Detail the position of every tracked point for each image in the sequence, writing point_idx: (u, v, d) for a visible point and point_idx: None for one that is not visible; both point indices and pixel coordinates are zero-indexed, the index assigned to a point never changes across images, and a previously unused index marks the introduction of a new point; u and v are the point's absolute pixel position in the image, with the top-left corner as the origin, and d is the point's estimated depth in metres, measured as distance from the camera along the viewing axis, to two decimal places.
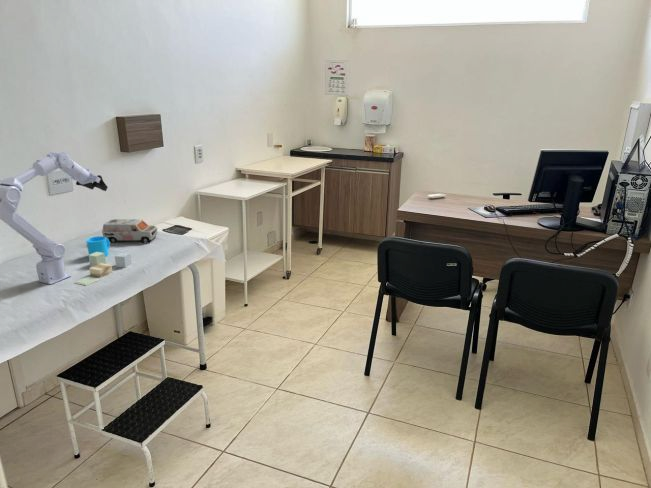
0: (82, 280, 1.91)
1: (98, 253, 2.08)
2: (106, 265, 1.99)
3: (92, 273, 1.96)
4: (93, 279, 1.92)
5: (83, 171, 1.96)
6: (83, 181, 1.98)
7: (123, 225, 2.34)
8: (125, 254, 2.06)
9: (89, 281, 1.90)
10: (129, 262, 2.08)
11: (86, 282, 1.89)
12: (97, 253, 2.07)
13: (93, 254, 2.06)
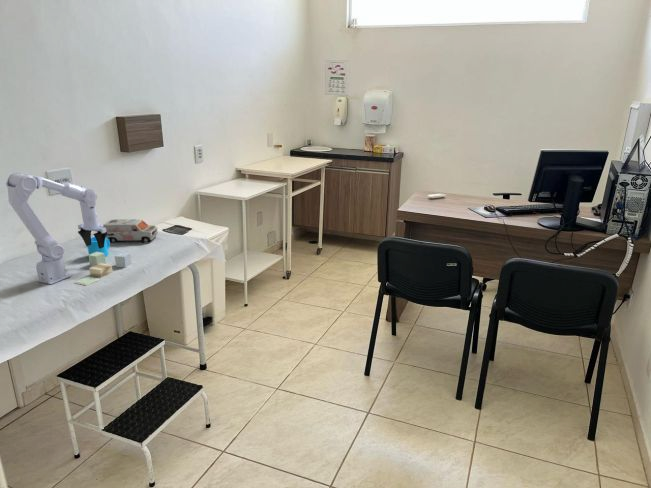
0: (82, 280, 1.91)
1: (98, 253, 2.08)
2: (106, 265, 1.99)
3: (92, 273, 1.96)
4: (93, 279, 1.92)
5: (96, 218, 2.01)
6: (89, 226, 2.00)
7: (123, 225, 2.34)
8: (125, 254, 2.06)
9: (89, 281, 1.90)
10: (129, 262, 2.08)
11: (86, 282, 1.89)
12: (97, 253, 2.07)
13: (93, 254, 2.06)
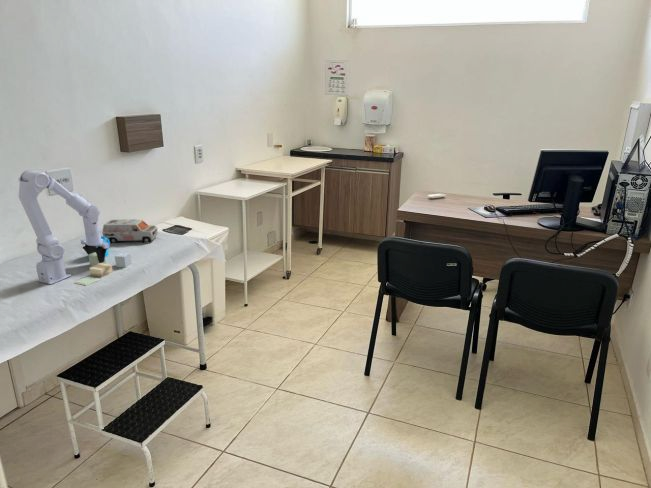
0: (82, 280, 1.91)
1: None
2: (106, 265, 1.99)
3: (92, 273, 1.96)
4: (93, 279, 1.92)
5: (99, 234, 2.04)
6: (92, 242, 2.02)
7: (124, 225, 2.33)
8: (125, 254, 2.06)
9: (89, 281, 1.90)
10: (129, 262, 2.08)
11: (86, 282, 1.89)
12: None
13: (93, 254, 2.06)
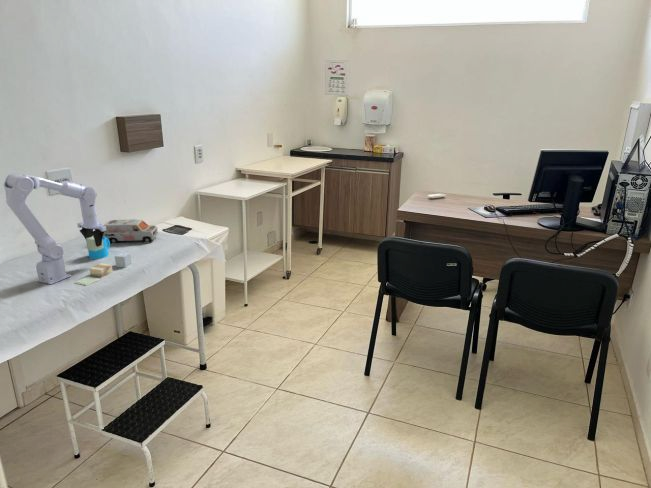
0: (82, 280, 1.91)
1: None
2: (106, 265, 1.99)
3: (92, 273, 1.96)
4: (93, 279, 1.92)
5: (96, 217, 2.00)
6: (89, 225, 1.99)
7: (124, 225, 2.33)
8: (125, 254, 2.06)
9: (89, 281, 1.90)
10: (129, 262, 2.08)
11: (86, 282, 1.89)
12: None
13: (91, 238, 2.03)
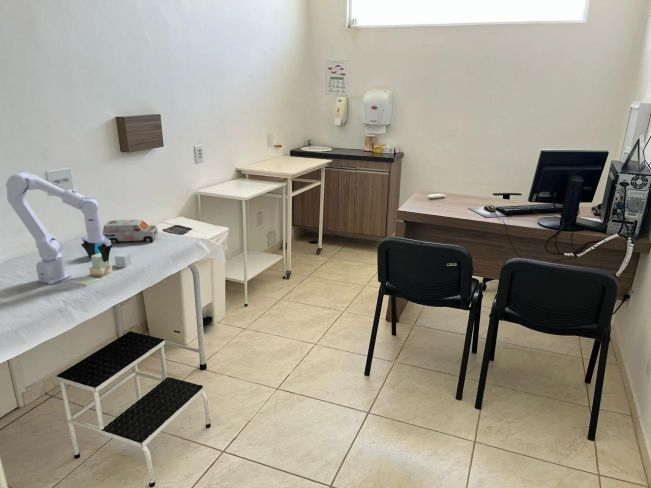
0: (82, 280, 1.91)
1: None
2: None
3: (92, 273, 1.96)
4: (93, 279, 1.92)
5: (101, 230, 1.92)
6: (93, 239, 1.91)
7: (125, 225, 2.33)
8: (125, 254, 2.06)
9: (89, 281, 1.90)
10: (129, 262, 2.08)
11: (86, 282, 1.89)
12: (100, 255, 1.96)
13: (96, 255, 1.96)
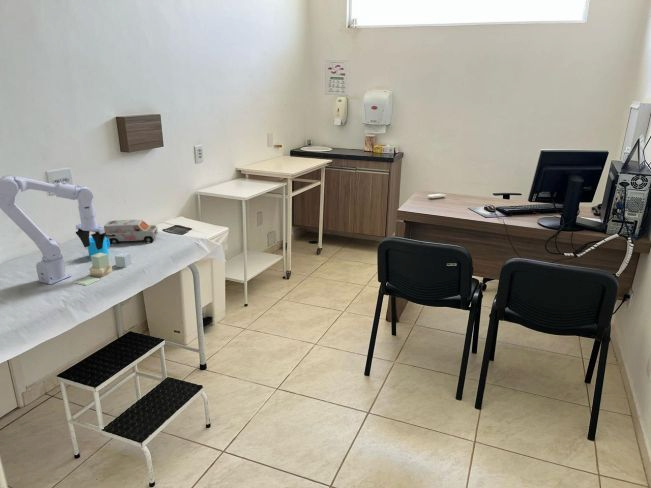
0: (82, 280, 1.91)
1: (101, 254, 1.97)
2: None
3: (92, 273, 1.96)
4: (93, 279, 1.92)
5: (94, 218, 1.94)
6: (87, 227, 1.92)
7: (125, 226, 2.33)
8: (125, 254, 2.06)
9: (89, 281, 1.90)
10: (129, 262, 2.08)
11: (86, 282, 1.89)
12: (100, 254, 1.96)
13: (96, 255, 1.96)
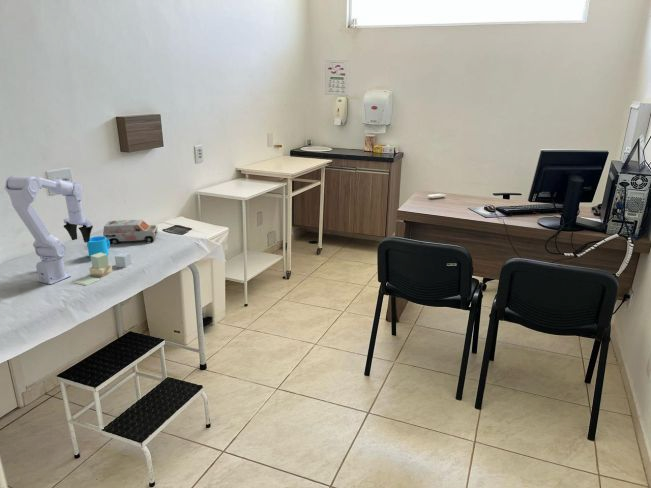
0: (82, 280, 1.91)
1: (101, 254, 1.97)
2: None
3: (92, 273, 1.96)
4: (93, 279, 1.92)
5: (82, 212, 2.02)
6: (75, 220, 2.01)
7: (125, 226, 2.33)
8: (125, 254, 2.06)
9: (89, 281, 1.90)
10: (129, 262, 2.08)
11: (86, 282, 1.89)
12: (100, 254, 1.96)
13: (95, 255, 1.96)
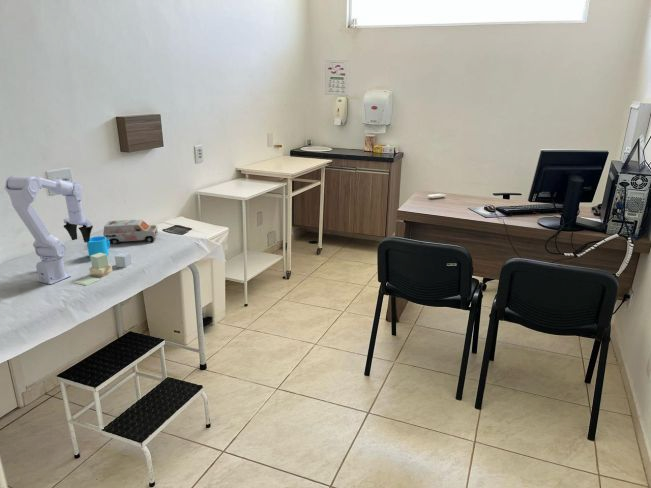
0: (82, 280, 1.91)
1: (100, 254, 1.97)
2: None
3: (92, 273, 1.96)
4: (93, 279, 1.92)
5: (82, 212, 2.02)
6: (75, 220, 2.01)
7: (126, 226, 2.33)
8: (125, 254, 2.06)
9: (89, 281, 1.90)
10: (129, 262, 2.08)
11: (86, 282, 1.89)
12: (99, 254, 1.96)
13: (95, 255, 1.96)
